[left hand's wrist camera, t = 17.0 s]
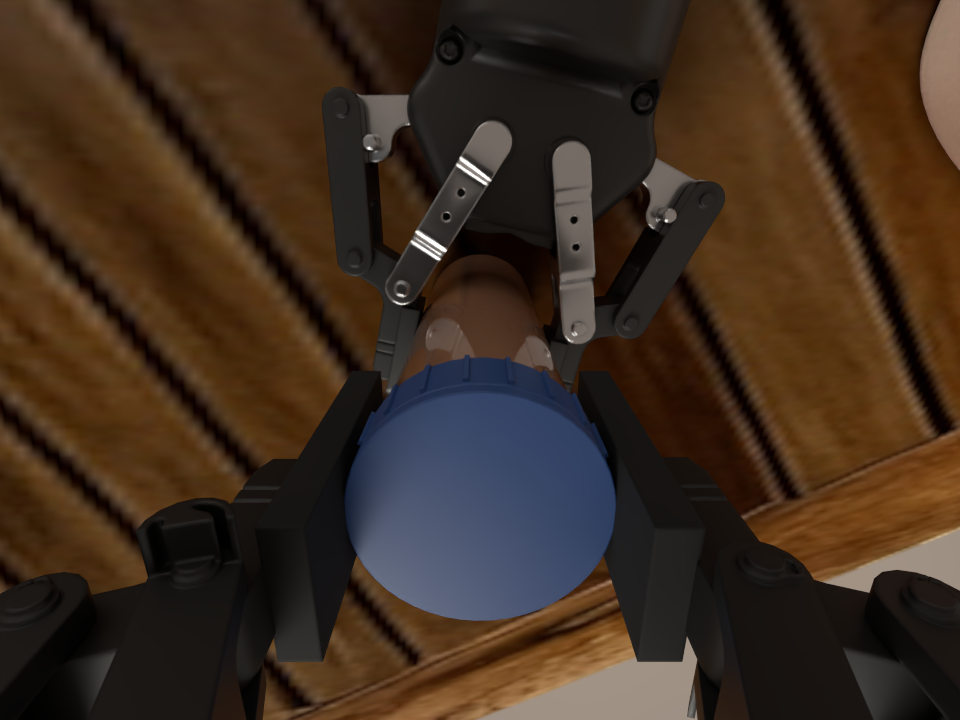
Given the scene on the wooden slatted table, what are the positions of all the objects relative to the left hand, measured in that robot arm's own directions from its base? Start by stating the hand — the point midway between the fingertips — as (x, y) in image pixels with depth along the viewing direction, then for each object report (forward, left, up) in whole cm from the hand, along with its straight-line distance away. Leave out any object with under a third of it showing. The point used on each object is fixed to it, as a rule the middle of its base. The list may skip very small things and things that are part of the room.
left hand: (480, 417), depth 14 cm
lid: (0, 0, +4) cm, 4 cm away
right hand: (+2, -2, -6) cm, 7 cm away
